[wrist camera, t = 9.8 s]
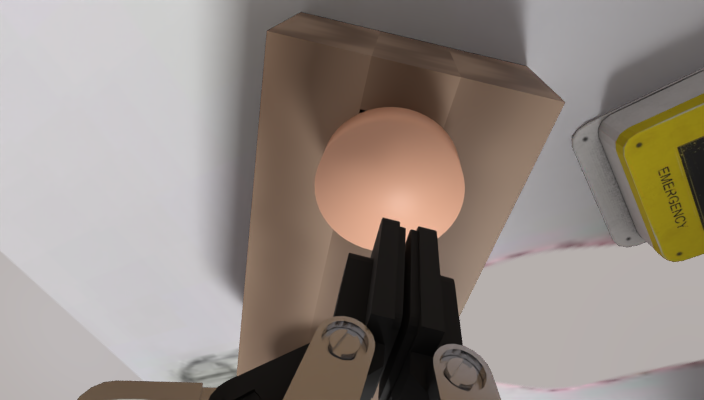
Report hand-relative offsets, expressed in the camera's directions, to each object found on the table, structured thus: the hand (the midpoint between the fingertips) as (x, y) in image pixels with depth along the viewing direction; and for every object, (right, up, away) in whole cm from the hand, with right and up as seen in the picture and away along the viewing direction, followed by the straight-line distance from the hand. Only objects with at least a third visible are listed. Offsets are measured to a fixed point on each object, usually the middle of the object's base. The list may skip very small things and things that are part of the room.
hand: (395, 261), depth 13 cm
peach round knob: (+1, +6, +9) cm, 11 cm away
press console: (-1, 0, +15) cm, 15 cm away
